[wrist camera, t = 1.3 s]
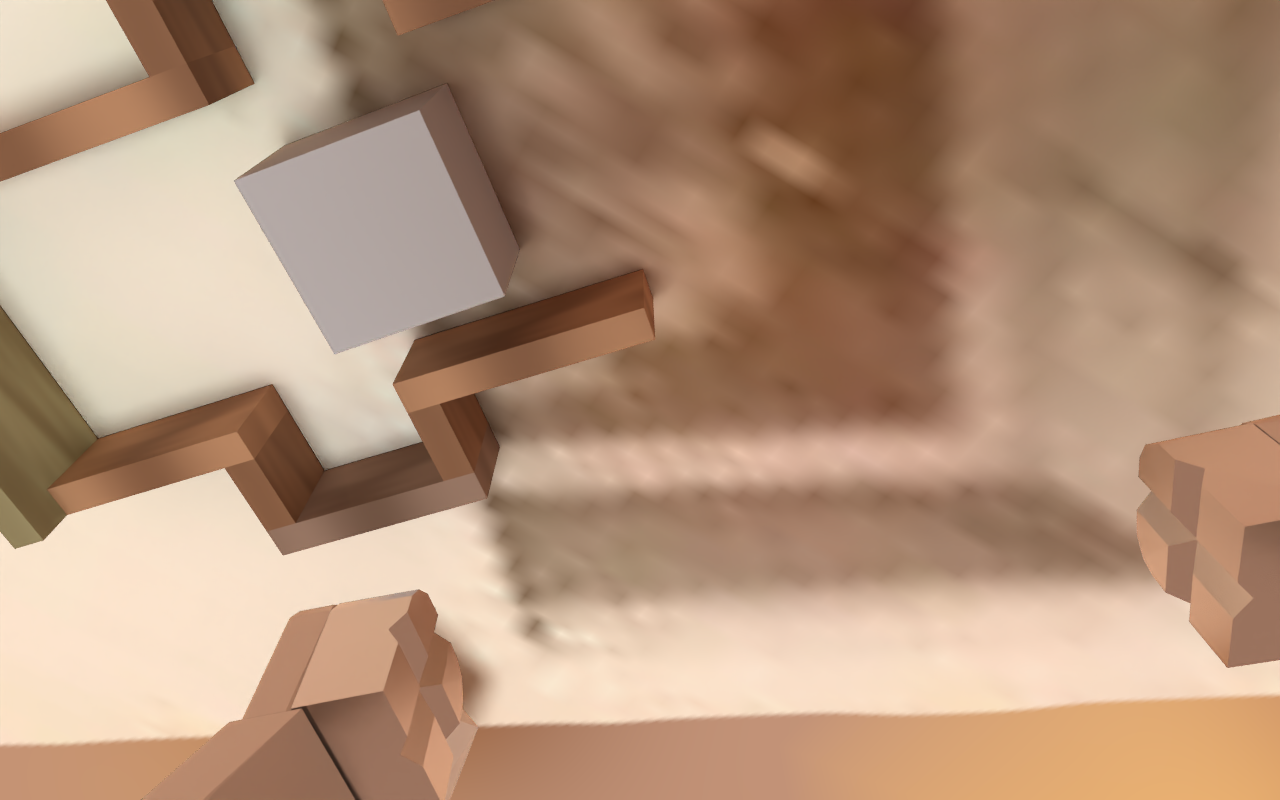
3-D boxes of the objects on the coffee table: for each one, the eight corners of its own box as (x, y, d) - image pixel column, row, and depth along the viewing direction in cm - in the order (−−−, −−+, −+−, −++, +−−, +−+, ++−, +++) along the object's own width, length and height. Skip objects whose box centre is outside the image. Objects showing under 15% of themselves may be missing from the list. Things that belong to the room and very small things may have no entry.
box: (472, -226, 25) (437, -254, 20) (685, 394, 34) (693, 464, 30) (-223, 58, 28) (-379, 86, 24) (148, 548, 38) (85, 632, 34)
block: (447, 82, 29) (419, 110, 25) (520, 247, 32) (504, 296, 28) (285, 144, 30) (233, 180, 26) (370, 300, 33) (334, 354, 29)
